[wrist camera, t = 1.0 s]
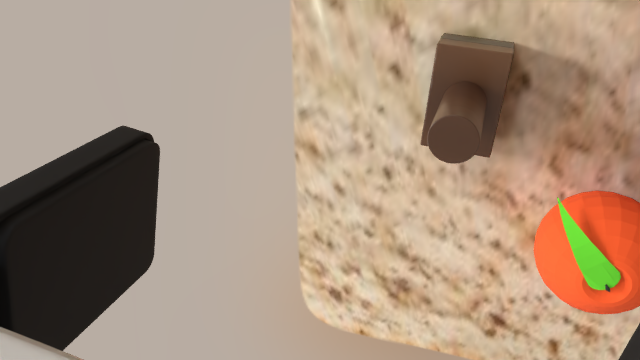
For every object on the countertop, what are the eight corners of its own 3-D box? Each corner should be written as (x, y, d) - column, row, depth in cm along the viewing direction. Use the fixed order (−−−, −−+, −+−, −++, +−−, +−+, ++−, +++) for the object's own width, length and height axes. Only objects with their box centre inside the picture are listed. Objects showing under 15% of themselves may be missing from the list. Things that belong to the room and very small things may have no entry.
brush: (443, 33, 33) (420, 70, 25) (514, 42, 32) (512, 84, 24) (427, 128, 36) (401, 188, 28) (492, 139, 35) (483, 205, 27)
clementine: (501, 192, 36) (497, 249, 30) (608, 136, 32) (629, 188, 26) (569, 286, 37) (579, 359, 31) (679, 241, 34) (714, 314, 27)
